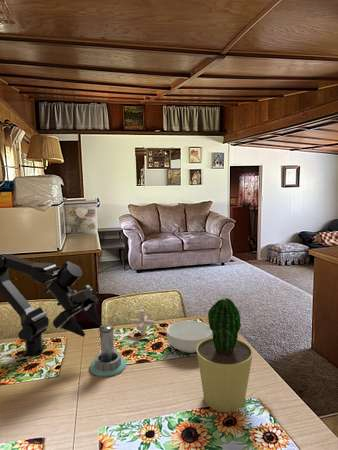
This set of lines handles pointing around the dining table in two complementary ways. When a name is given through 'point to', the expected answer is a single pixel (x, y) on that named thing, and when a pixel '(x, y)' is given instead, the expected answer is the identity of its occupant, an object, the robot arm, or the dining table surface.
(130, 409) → the dining table surface
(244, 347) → the potted cactus
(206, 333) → the cereal bowl
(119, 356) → the collar
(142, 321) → the pipe connector
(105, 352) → the gray tube
